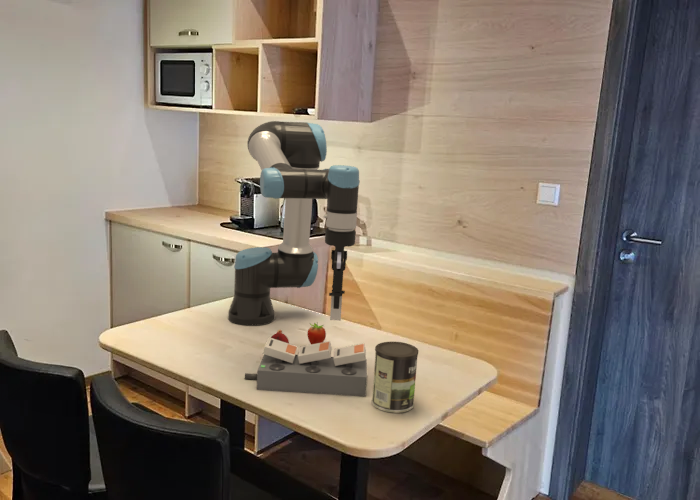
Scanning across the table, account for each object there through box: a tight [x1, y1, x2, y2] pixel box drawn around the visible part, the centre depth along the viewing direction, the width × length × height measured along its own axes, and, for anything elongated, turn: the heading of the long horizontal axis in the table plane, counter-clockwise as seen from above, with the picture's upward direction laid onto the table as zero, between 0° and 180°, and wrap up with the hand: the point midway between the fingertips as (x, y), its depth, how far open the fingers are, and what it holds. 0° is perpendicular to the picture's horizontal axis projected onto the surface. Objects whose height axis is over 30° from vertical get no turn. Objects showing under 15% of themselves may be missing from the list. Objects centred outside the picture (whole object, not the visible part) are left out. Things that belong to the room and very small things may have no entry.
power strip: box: [244, 354, 368, 397], centre depth 162 cm, size 12×31×6 cm, turn 89°
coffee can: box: [371, 341, 419, 414], centre depth 152 cm, size 10×10×14 cm
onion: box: [270, 329, 290, 344], centre depth 177 cm, size 6×6×8 cm
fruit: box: [307, 322, 327, 345], centre depth 186 cm, size 5×5×8 cm
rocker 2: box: [297, 340, 333, 364], centre depth 163 cm, size 7×8×2 cm
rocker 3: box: [333, 342, 367, 366], centre depth 163 cm, size 7×8×2 cm
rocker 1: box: [262, 336, 299, 363], centre depth 163 cm, size 7×8×2 cm
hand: (335, 319), depth 162 cm, fingers closed
